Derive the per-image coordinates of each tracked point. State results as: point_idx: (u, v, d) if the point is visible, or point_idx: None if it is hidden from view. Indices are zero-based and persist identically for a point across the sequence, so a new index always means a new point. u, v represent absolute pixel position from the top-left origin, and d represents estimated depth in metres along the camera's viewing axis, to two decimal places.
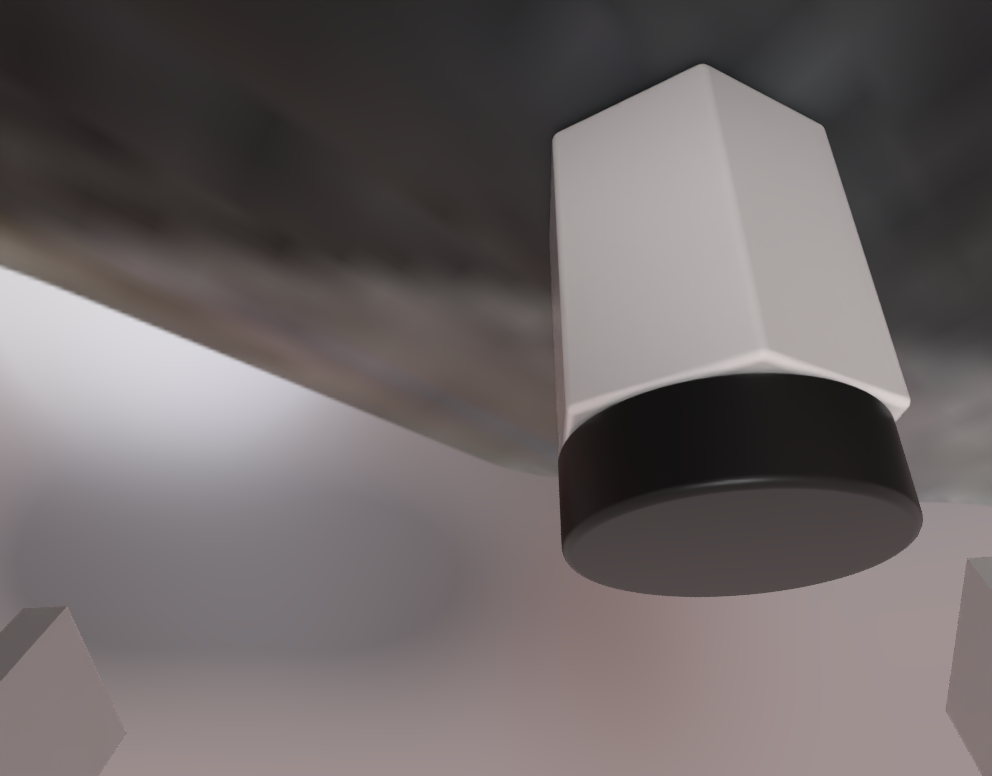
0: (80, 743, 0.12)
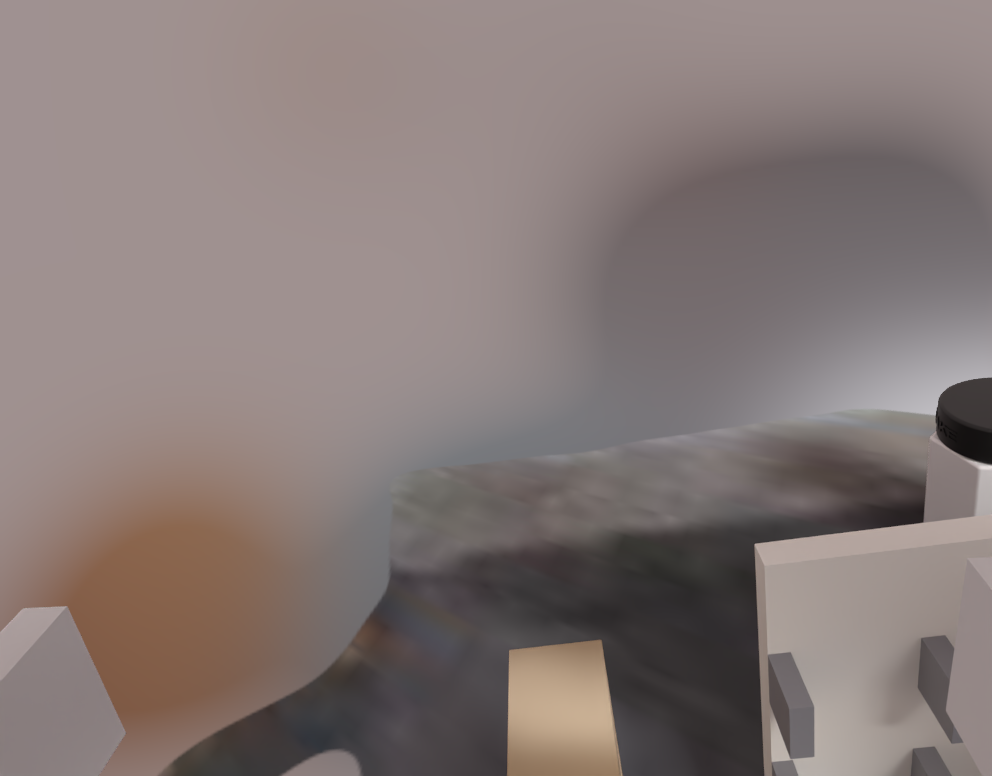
0: (80, 743, 0.12)
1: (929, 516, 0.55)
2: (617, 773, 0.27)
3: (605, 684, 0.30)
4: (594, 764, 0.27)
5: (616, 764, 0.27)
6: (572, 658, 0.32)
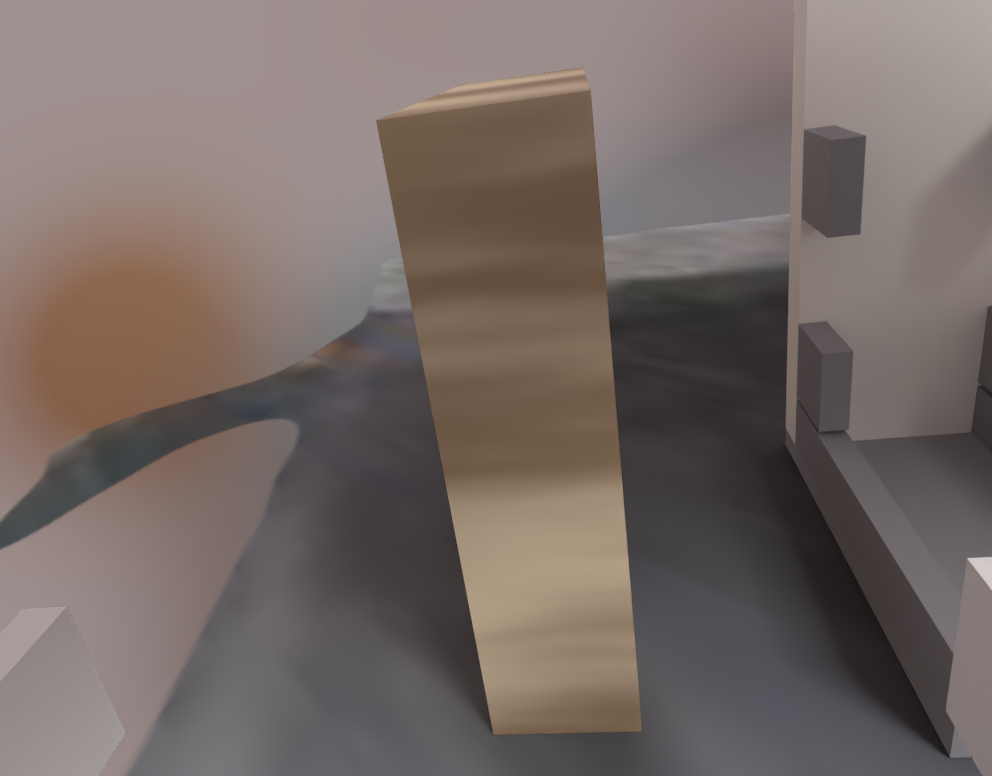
0: (80, 743, 0.12)
1: None
2: (583, 76, 0.19)
3: (580, 70, 0.22)
4: (552, 80, 0.19)
5: (583, 76, 0.19)
6: (541, 74, 0.24)
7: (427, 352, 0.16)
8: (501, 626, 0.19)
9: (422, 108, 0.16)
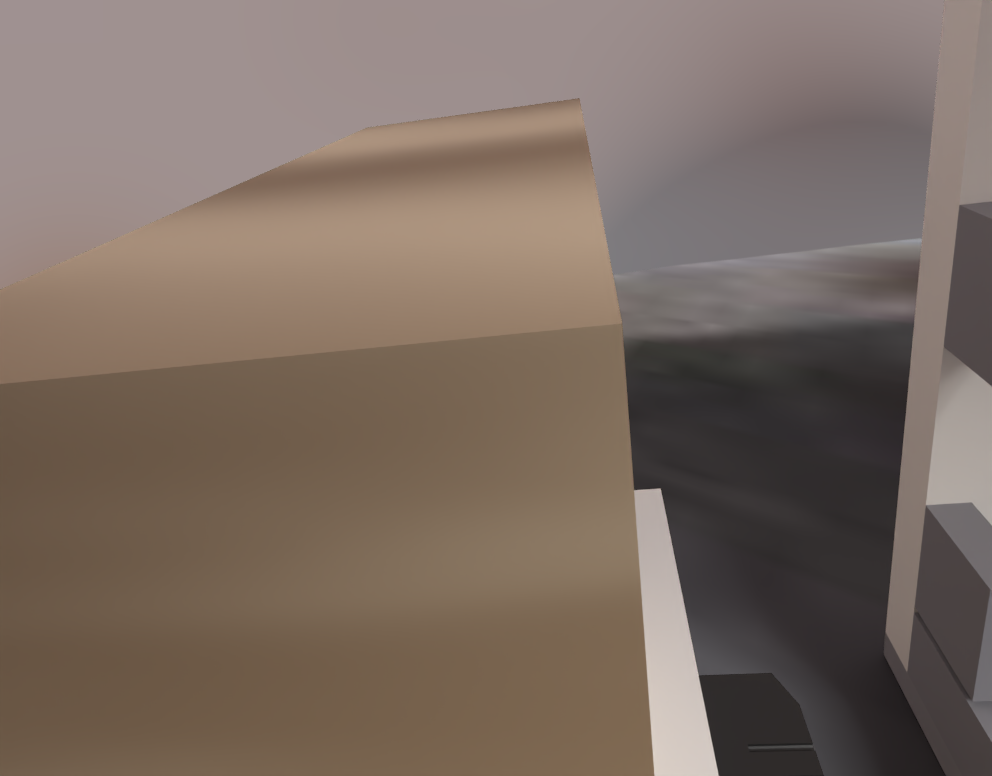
0: None
1: None
2: (581, 142, 0.08)
3: (576, 109, 0.12)
4: (511, 146, 0.08)
5: (581, 139, 0.08)
6: (505, 112, 0.13)
7: None
8: None
9: (67, 286, 0.05)
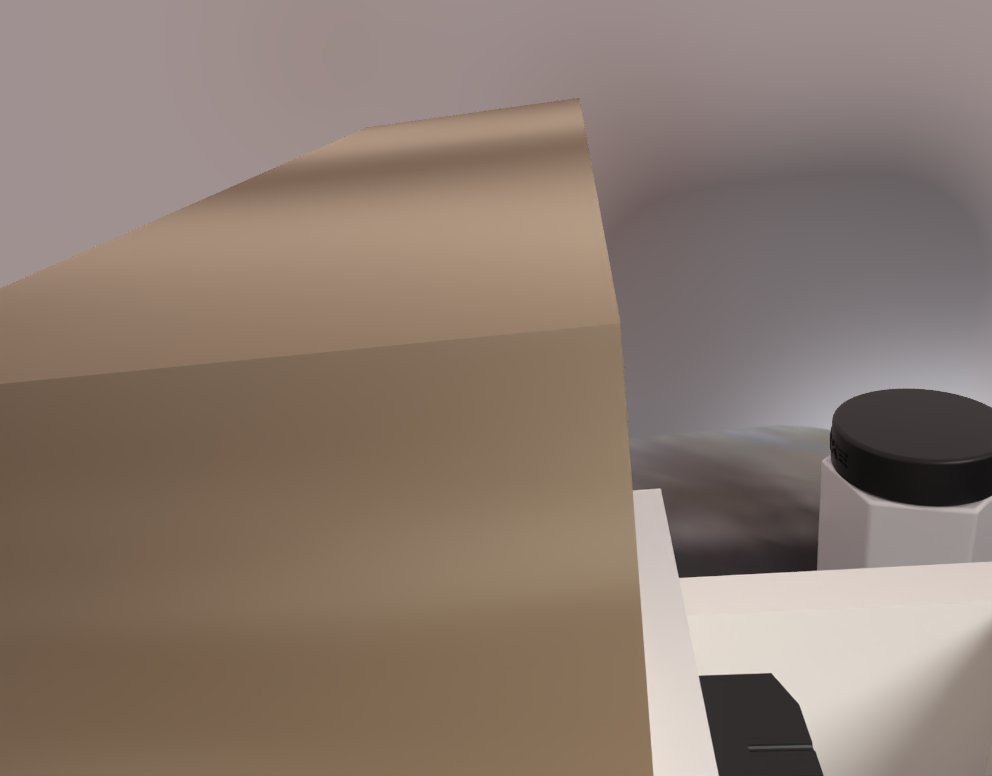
0: None
1: (822, 561, 0.43)
2: (581, 142, 0.08)
3: (576, 109, 0.11)
4: (510, 146, 0.08)
5: (581, 138, 0.08)
6: (505, 112, 0.13)
7: None
8: None
9: (65, 286, 0.05)
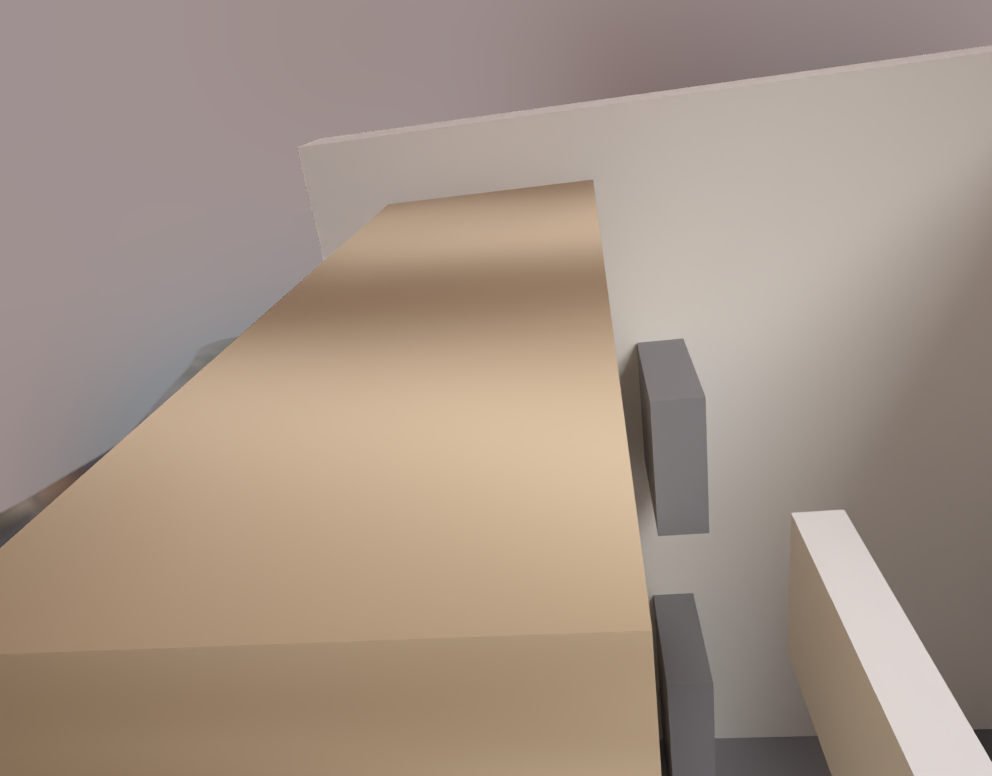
0: None
1: None
2: (600, 277, 0.08)
3: (592, 205, 0.12)
4: (533, 273, 0.09)
5: (600, 269, 0.09)
6: (523, 196, 0.14)
7: None
8: None
9: (143, 480, 0.05)
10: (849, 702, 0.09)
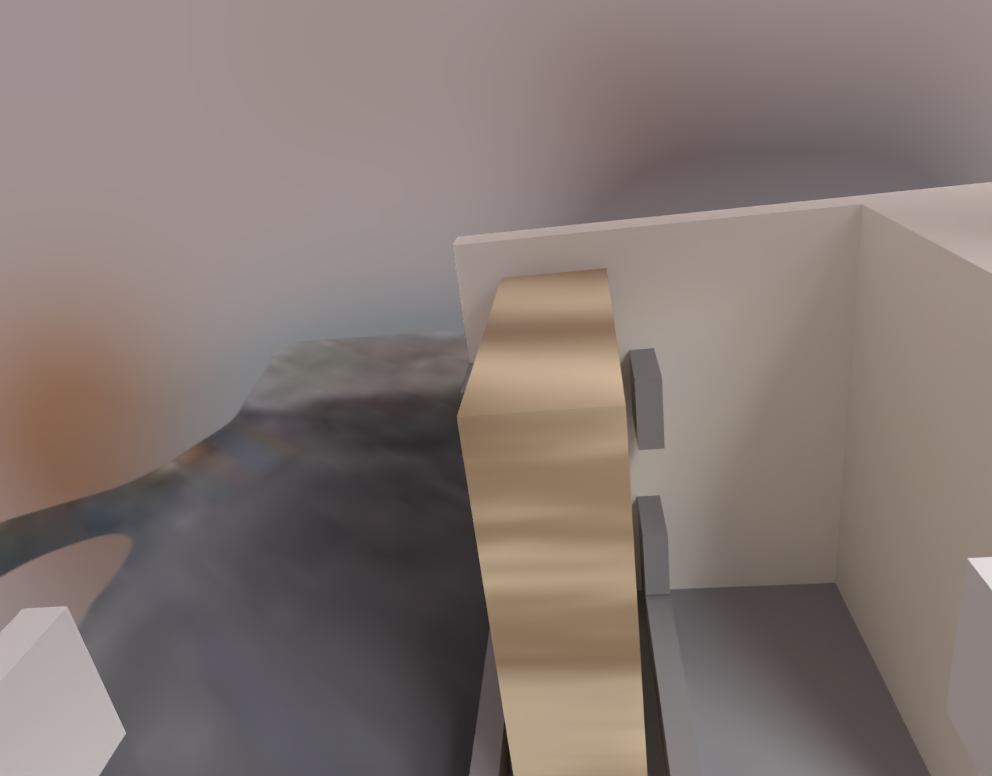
0: (80, 743, 0.12)
1: None
2: (612, 325, 0.23)
3: (607, 286, 0.26)
4: (586, 322, 0.23)
5: (612, 321, 0.23)
6: (572, 277, 0.28)
7: (487, 576, 0.20)
8: None
9: (488, 386, 0.20)
10: None
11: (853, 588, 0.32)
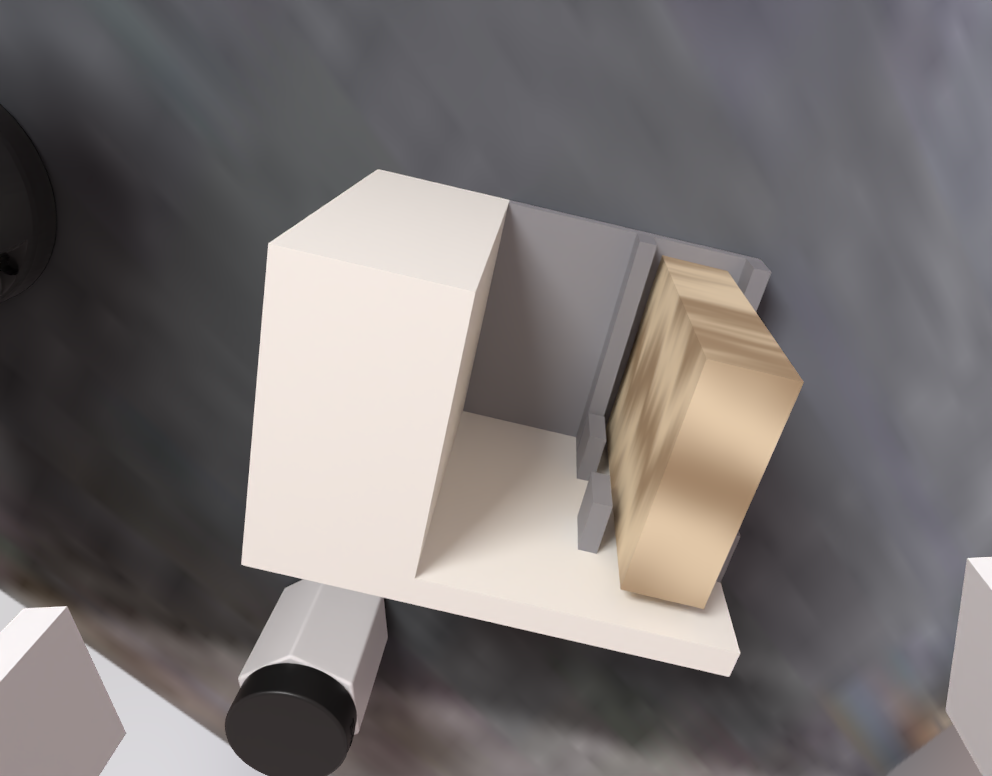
0: (80, 743, 0.12)
1: (379, 657, 0.57)
2: (664, 474, 0.32)
3: (637, 548, 0.34)
4: (678, 487, 0.33)
5: (662, 481, 0.33)
6: (652, 581, 0.35)
7: (771, 338, 0.34)
8: (728, 287, 0.41)
9: (773, 415, 0.31)
10: None
11: (466, 390, 0.48)
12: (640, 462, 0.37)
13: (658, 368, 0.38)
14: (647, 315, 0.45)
